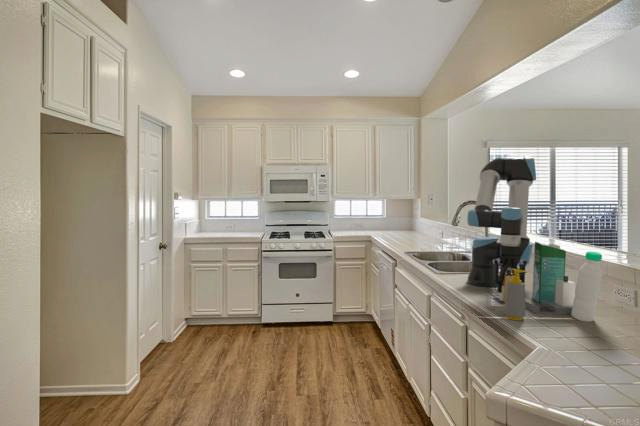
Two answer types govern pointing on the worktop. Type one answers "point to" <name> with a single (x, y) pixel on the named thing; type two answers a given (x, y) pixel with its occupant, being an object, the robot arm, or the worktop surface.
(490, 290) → the worktop surface
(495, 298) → the mat
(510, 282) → the soap bottle
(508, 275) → the plug
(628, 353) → the worktop surface
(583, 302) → the water bottle
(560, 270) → the milk carton
